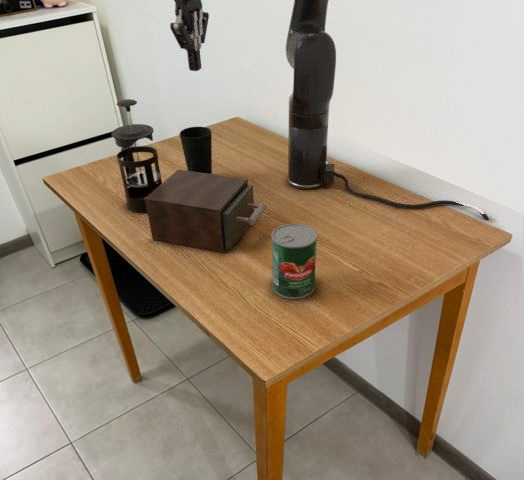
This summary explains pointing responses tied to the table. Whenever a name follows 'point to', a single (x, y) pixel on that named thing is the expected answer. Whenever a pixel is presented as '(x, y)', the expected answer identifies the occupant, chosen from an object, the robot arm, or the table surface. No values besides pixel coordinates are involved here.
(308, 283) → the canned tomato
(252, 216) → the drawer
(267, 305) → the table surface
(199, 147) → the cup
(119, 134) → the french press
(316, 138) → the robot arm
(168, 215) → the cabinet
